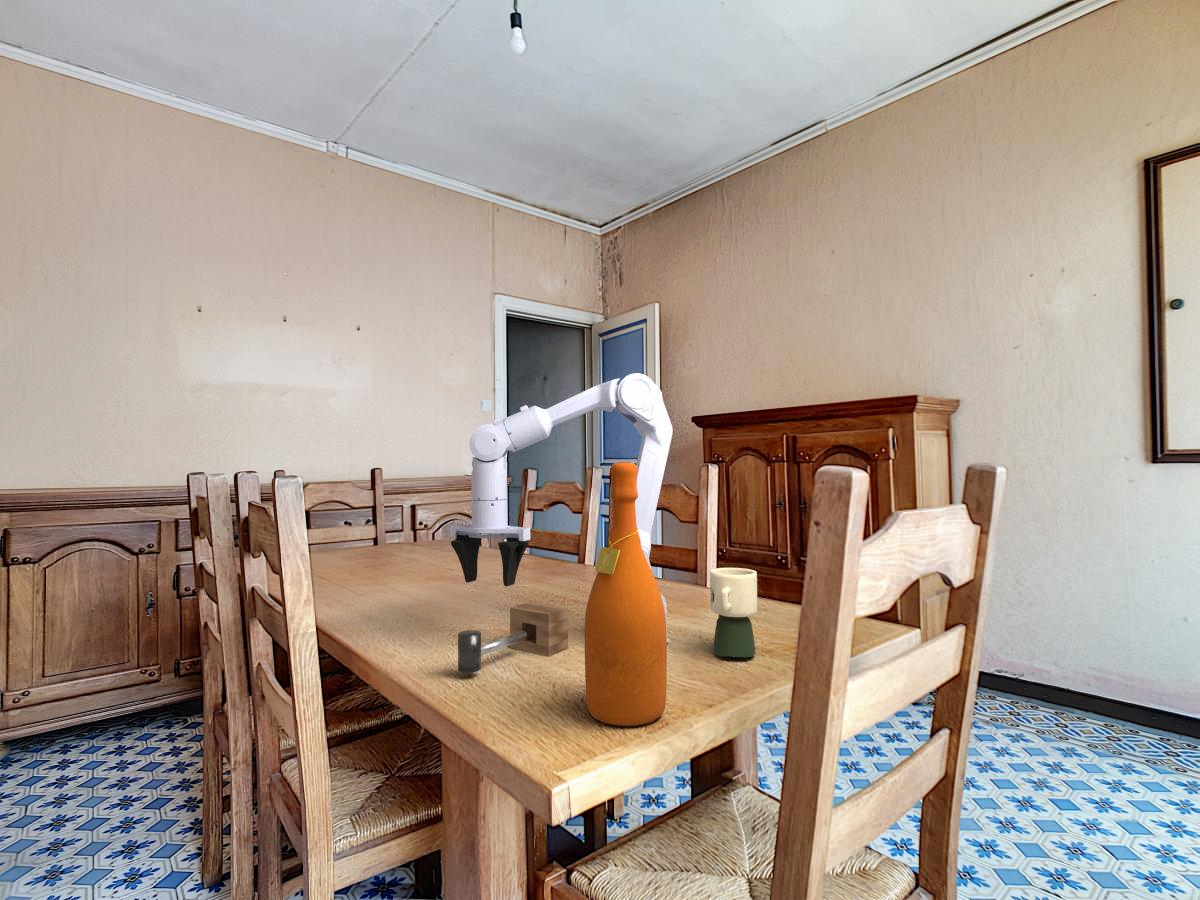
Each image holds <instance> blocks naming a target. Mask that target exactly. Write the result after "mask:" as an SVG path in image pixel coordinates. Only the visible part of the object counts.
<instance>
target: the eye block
mask: <svg viewBox="0 0 1200 900" xmlns="http://www.w3.org/2000/svg"><path fill="white" fill-rule="evenodd" d="M520 631H525V632H526V633H527V638H526V639H525V640H522V641H520V642H517V643H514V644H512V645H509V648H510V649H511V650H517V651H521V652H522V651H523V652H527V653H530V654H536V655H541V656H544V657H551V656H553V655H555V654H558V653H560V652H563V651H565V650H568V649H569V607H565V606H560V605H554V604H553V605H552V604H546V603H542V602H541V603H540V602H534V601H528V602H525V603H522V604H519V605H518V604H517V605H513V606H511V607H509V635H511V634H514V633H517V632H520Z"/></svg>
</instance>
